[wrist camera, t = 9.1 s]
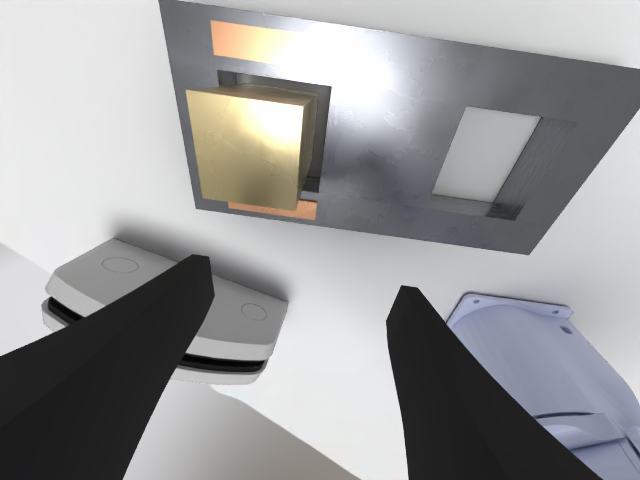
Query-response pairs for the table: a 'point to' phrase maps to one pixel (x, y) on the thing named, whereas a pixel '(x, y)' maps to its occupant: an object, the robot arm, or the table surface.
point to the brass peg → (253, 143)
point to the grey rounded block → (214, 334)
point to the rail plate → (408, 121)
